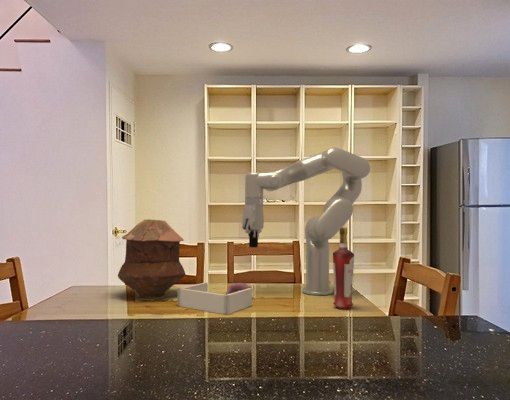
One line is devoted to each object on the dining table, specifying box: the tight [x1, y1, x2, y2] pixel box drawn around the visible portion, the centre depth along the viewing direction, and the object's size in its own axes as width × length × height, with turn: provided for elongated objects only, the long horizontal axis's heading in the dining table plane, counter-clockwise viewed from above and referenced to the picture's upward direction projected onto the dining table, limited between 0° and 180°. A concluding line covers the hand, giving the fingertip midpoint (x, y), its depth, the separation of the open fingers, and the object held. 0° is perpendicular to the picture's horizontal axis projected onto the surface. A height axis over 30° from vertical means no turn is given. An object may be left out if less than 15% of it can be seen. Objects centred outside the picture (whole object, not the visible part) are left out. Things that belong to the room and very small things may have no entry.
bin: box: [176, 282, 253, 316], centre depth 138 cm, size 15×21×6 cm
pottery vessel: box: [117, 219, 186, 298], centre depth 156 cm, size 26×26×30 cm
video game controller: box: [225, 282, 252, 295], centre depth 151 cm, size 10×5×7 cm, turn 71°
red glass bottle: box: [332, 226, 355, 310], centre depth 137 cm, size 7×7×28 cm
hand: (253, 247), depth 160 cm, fingers closed
